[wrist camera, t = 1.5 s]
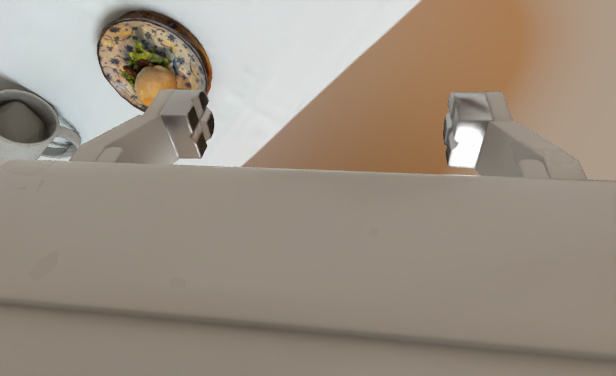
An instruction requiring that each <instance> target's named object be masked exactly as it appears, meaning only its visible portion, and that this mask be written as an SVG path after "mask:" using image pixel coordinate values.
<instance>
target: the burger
mask: <svg viewBox="0 0 616 376" xmlns="http://www.w3.org/2000/svg"><path fill="white" fill-rule="evenodd" d="M97 55H98V60H99V64H100V67H101V70H102V73H103V75H104V77H105V78H106V79H107V80H108V82H109V83H110V84H111V85H112V86H113V87H114V89H115V90H116V91H117V92H118V93H119V95H120V96H121V97H123V98H124V99H125V100H127V101H128V102H129V103H130V104H131V105H132V106H134V107H136V108H137V109H139V110H141V111H143V112H145V111H146V110H147V108H148V107H149V105H150V104H151V103H152V101H153V100H154V98H155V97H156V95H157V94H158V92H159V91H160V90H163V89H175V90H177V89H180V90H203V91H205V92H206V94H208V92H209V90H210V88H211V79H212V70H211V66H210V63H209V60H208V57H207V55H206V53H205V51H204V50H203V48H202V47H201V45H200V44H199V43H198V41H197V40H196V39H195V38H194V37H193V36H192V35H191V34H190V33H189V32H188V31H187V30H186V29H184V28H183V27H182V26H180V25H179V24H178V23H176V22H174V21H172V20H171V19H169V18H167V17H164V16H162V15H159V14H156V13H152V12H146V11H142V12H136V11H132V12H128V13H126V14H124V15H123V16H121V17H120V18H118V19H117V20H115V21H113V22H112V23H110V24H108V25H107V26H106V27H105V28H104V29H103V31H102V33H101V37H100V40H99V42H98V45H97Z"/></svg>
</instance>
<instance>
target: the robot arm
mask: <svg viewBox="0 0 616 376" xmlns="http://www.w3.org/2000/svg"><path fill="white" fill-rule="evenodd" d="M208 102H209V100H208V97H207V94H206V92H205V91H203V90H180V89H177V90H175V89H163V90H160V91H159V92H158V94H157V95H156V97H155V98H154V100H153V101H152V103H151V104H150V105H149V107H148V108H147V110H146V111H145V113H144V114H143V115H138V116H136V117H134V118H132V119H130V120H128V121H126V122H125V123H123V124H121V125H119V126H117V127H115V128H113V129H111V130H109V131H107V132H105V133H103V134H102V135H100V136H98V137H96V138H94V139H92V140H90V141H88V142H86V143H84V144H82V145H81V146H80V147H79V148H78V150H77V151H76V152H75V153H74V155H73V156H72V157H71V158H70V160H69V161H52V160H24V159H0V376H616V181H612V180H588V179H587V177H586V175H585V173H584V171H583V169H582V167H581V164H580V162H579V160H577V159H576V158H574V157H573V156H571V155H569V154H568V153H566V152H565V151H563V150H562V149H560V148H559V147H557V146H555V145H554V144H552V143H551V142H549V141H548V140H546V139H544V138H543V137H541V136H540V135H538V134H537V133H535V132H533V131H532V130H530V129H529V128H527V127H525V126H524V125H522V124H521V123H519V122H513V120H512V117H511V114H510V111H509V109H508V106H507V103H506V100H505V98H504V95H503V93H502V92H501V91H500V92H459V93H457V92H455V93H451V94H450V96H449V101H448V108H449V113H448V114H447V115H446V116H445V122H444V131H443V136H444V144H445V145H446V146H447V149H446V158H447V164H448V167H463V168H475V170H476V171H477V172H478V173H479V174H480V175H481V176H473V175H446V174H445V175H444V174H416V173H388V172H361V171H332V170H331V171H330V170H304V169H276V168H246V167H220V166H192V165H172V164H174V163H175V162H176V161H177V160H178V158H202V156H203V154H204V152H205V150H206V148H207V144H206V141H207V140H209V139H210V138H211V137H212V134H213V131H214V118H213V114H212V112H211V111H210V110H209V109H208V108H207V107H206V106H207V104H208Z"/></svg>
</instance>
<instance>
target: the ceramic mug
mask: <svg viewBox="0 0 616 376" xmlns="http://www.w3.org/2000/svg"><path fill="white" fill-rule="evenodd" d="M55 137H61V138H63V139H65V140H68V141H70V142H72V143H73V144H72V145H71V146H69V147H67V148H53V147H47V146H48V145H49V144H50V143H51V141H52V140H53V139H54V138H55ZM79 147H80V137H79V136H78V134H76V133H75V132H74V131H72V130H70V129H67V128H65V127H62V126H59V120H58V117H57V114H56V112H55V111H54V109H53V108H52V107H51V106H50V105H49V104H48V103H47V102H46V101H44V100H43V99H42V98H40V97H38V96H36V95H35V94H33V93H30V92H27V91H23V90H18V89H5V90H0V159H24V160H37V159H38V158H39V156H45V157H51V158H67V157H71V156H73V155H74V153H75V152H76V151H77V150H78V148H79Z"/></svg>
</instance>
